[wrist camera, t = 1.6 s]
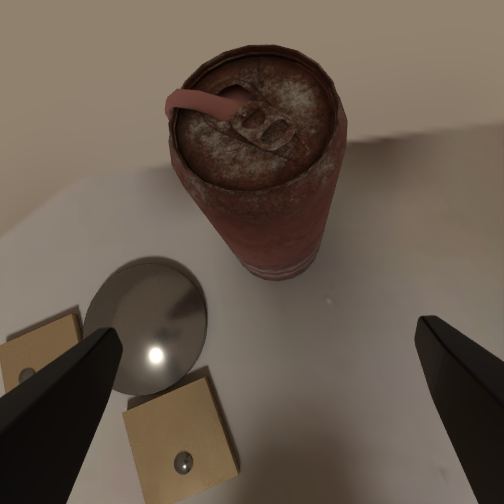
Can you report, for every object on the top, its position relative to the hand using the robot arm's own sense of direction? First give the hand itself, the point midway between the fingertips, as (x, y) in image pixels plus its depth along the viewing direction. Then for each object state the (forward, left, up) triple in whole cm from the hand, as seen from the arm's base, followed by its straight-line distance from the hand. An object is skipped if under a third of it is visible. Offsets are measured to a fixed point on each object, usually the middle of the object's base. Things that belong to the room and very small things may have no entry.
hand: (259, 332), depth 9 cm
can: (+6, -2, -13) cm, 14 cm away
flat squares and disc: (+1, +12, -13) cm, 17 cm away
